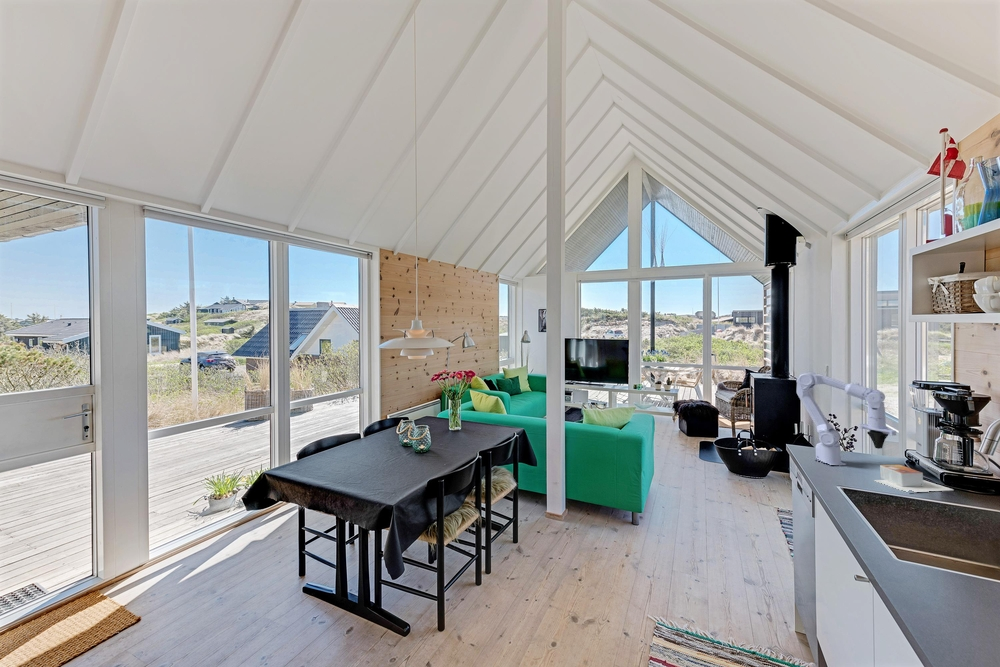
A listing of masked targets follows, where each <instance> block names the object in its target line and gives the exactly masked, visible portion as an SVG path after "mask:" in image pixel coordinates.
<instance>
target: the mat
mask: <svg viewBox="0 0 1000 667" xmlns="http://www.w3.org/2000/svg"><path fill="white" fill-rule="evenodd" d="M873 481H874V482H875V481H876V482H875V483H878V482H879V483H878V484H881V483H882V484H881V485H884V484H885V485H884V486H886V485H888V486H887V487H889V486H890V487H889V488H892V487H893V488H892V489H895V488H896V490H898V489H899V490H898V491H901V490H903V491H906V492H908V491H909V490H912V491H914V492H928V493H930V492H929V491H942V492H953V491H954V489H953V488H950V487H947V486H943V485H940V484H938V483H937V484H936V483H935V482H930V481H927V480H925V479H923V486H906V487H902V486H899V485H897V484H895V483H892V482H890V481H887V480H885V479H874V480H873ZM903 491H902V492H903ZM906 492H905V493H906Z"/></svg>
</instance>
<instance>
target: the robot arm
mask: <svg viewBox="0 0 1000 667" xmlns="http://www.w3.org/2000/svg"><path fill="white" fill-rule="evenodd" d="M797 377H798V378H797V379H796V394H797V396H798V398H799V400H800V401H801V403H802V405H803V406H804V408H805V410H806V411H807V414H808V415H809V417H810V418H811V420H812V421H813V423H814V425H815V426H816V432H817V434H818V440H819V441H820V442H818V443H816V445H815V448H814V449H815V459H816V458H817V459H819V460H821V461H823V462H825V463H828V464H830V465H839V466H846V465H847V463H844V462H842V456H841V453H842V452H841V444H840V442H839V441H840V440H841V434H840V432H839V431H838V430H836V429H835V428H834V427H833V425H832V424H830V423H829V421H828V420H827V418H826V417H825V415H824V413H823V411H822V410H821V408H820V406H819V405H818V403H817V402H816V400H815V398H814V396H813V395H812V393H811V392H812V390H813V388H814V387H815V385H826V386H830V387H833V388H836V389H839V390H842V391H844V392H845V393H846V395H849V396H852V397H855V398H857V399H860V400H862V401H866V402H867V420H868V421H867V422H868V424H865V423H862V424H861V423H860V424H859V428H860V429H861V430H869V431H867V432H866V433H867V435H868V436H869V438H870V439H871V441H872V443H873V446H874V448H875V449H883V446H884V442H885V441H886V439H887V438H888V436H892V437H893V436H897V430H893V429H891V428H888V427H887V423H886V420H887V419H886V418H887V417H886V408H885V402H884V401H885V399H886V395H885V393H884V392H883V391H880V390H879V389H873V387H867V386H863V385H861V384H860V383H858V382H855V383H854V382H851V383H846V382H843V381H840V380H837V379H835V378H832V377H830V376H828V375H823V374H820V373H816V372H814V371H808V372H805V373H801V374H800V375H798V376H797Z"/></svg>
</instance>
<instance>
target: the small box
mask: <svg viewBox="0 0 1000 667" xmlns="http://www.w3.org/2000/svg"><path fill="white" fill-rule="evenodd" d="M879 470H880V471H879V472H880V479H881V480H887V481H890V482H892V483H895V484H897V485H899V486H902V487H906V486H923V480H924V473H923V472H922V471H918V470H915V469H913V468H910V467H908V466H905V465H903V464H902V465H901V464H881V465H879Z"/></svg>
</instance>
